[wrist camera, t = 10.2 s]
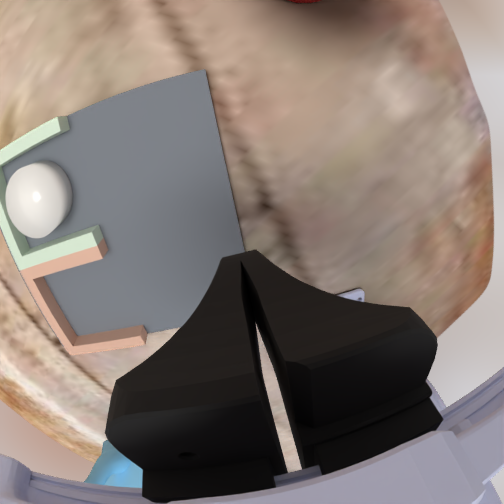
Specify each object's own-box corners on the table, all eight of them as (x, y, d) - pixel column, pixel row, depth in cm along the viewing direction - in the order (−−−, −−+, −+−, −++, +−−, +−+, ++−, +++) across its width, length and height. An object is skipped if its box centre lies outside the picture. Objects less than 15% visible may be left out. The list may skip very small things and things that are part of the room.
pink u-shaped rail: (147, 333, 22) (145, 344, 21) (74, 345, 22) (70, 355, 21) (103, 237, 18) (97, 245, 17) (27, 262, 18) (19, 270, 17)
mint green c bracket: (103, 237, 18) (97, 245, 17) (27, 262, 18) (19, 270, 17) (66, 116, 14) (57, 116, 13) (-9, 160, 14) (-20, 163, 13)
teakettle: (232, 394, 29) (253, 519, 15) (234, 457, 37) (248, 537, 24) (74, 390, 26) (48, 498, 13) (120, 455, 34) (115, 531, 21)
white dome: (79, 221, 17) (68, 232, 16) (29, 231, 17) (16, 242, 15) (65, 152, 15) (50, 157, 13) (14, 169, 15) (-1, 176, 13)
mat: (256, 305, 23) (258, 309, 23) (65, 342, 22) (63, 346, 22) (204, 70, 15) (205, 69, 15) (-15, 165, 14) (-19, 167, 14)
